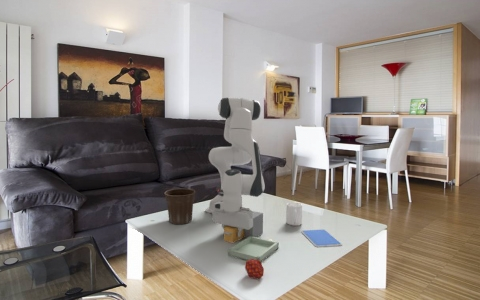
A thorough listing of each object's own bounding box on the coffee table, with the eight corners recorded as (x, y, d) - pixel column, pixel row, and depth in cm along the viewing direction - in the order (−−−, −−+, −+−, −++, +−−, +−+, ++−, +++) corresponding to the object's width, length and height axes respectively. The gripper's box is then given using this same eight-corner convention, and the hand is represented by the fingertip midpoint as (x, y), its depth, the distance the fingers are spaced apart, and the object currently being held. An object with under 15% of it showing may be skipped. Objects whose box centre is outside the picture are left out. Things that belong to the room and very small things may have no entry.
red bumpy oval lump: (254, 287, 110) (238, 272, 115) (266, 277, 115) (249, 263, 120) (259, 274, 108) (241, 259, 112) (271, 264, 112) (254, 250, 117)
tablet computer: (342, 246, 141) (343, 244, 141) (315, 248, 140) (315, 245, 139) (324, 231, 160) (324, 229, 160) (300, 232, 159) (300, 230, 158)
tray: (228, 255, 130) (228, 249, 130) (250, 241, 146) (250, 236, 145) (258, 263, 123) (258, 257, 123) (278, 248, 138) (278, 242, 138)
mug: (303, 228, 163) (304, 208, 162) (287, 228, 164) (287, 208, 163) (300, 221, 175) (301, 202, 174) (285, 220, 176) (285, 202, 175)
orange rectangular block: (222, 240, 146) (222, 228, 145) (239, 233, 156) (239, 220, 156) (231, 243, 143) (231, 230, 142) (248, 235, 153) (248, 223, 153)
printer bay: (223, 233, 156) (223, 212, 155) (234, 227, 164) (235, 208, 164) (252, 239, 148) (253, 218, 147) (262, 233, 156) (263, 213, 155)
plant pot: (181, 228, 162) (181, 196, 161) (158, 222, 171) (157, 192, 169) (201, 219, 176) (201, 190, 175) (179, 215, 185) (179, 187, 183)
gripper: (255, 207, 143) (255, 237, 145) (218, 201, 154) (218, 229, 155) (248, 210, 138) (248, 241, 139) (210, 203, 149) (210, 233, 150)
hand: (232, 235), depth 147 cm, fingers closed on orange rectangular block, 5 cm apart
